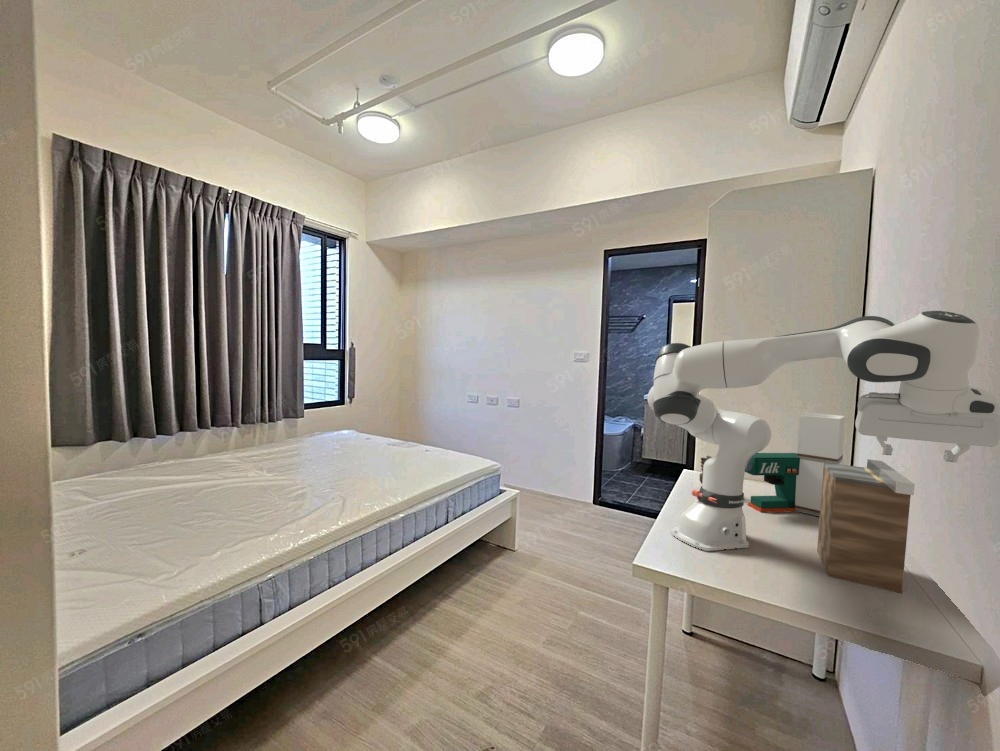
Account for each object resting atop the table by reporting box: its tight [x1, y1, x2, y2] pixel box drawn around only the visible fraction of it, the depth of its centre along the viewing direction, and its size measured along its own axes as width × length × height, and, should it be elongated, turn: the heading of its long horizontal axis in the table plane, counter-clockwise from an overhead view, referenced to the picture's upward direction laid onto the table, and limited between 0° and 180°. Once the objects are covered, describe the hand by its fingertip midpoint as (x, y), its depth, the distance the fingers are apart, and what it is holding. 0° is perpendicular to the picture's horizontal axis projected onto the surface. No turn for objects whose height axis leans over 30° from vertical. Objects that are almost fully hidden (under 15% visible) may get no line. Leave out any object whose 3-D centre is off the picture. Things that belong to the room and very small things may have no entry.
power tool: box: [745, 452, 800, 513], centre depth 150 cm, size 32×7×20 cm, turn 96°
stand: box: [816, 463, 912, 594], centre depth 108 cm, size 16×14×26 cm
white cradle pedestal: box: [795, 412, 846, 517], centre depth 147 cm, size 11×11×35 cm
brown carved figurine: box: [699, 455, 713, 485], centre depth 167 cm, size 6×6×15 cm
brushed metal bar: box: [866, 459, 916, 496], centre depth 101 cm, size 23×3×2 cm, turn 150°
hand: (916, 457), depth 83 cm, fingers open, 8 cm apart
